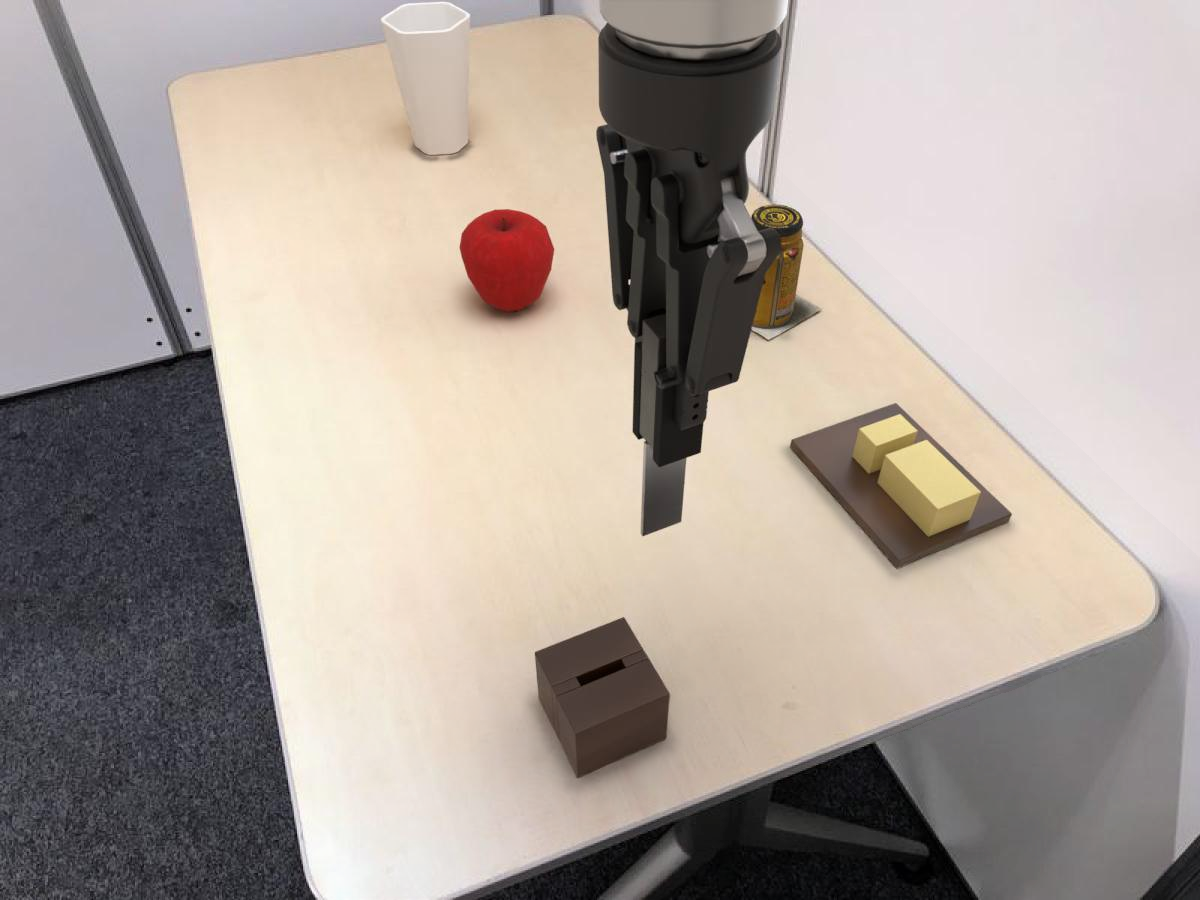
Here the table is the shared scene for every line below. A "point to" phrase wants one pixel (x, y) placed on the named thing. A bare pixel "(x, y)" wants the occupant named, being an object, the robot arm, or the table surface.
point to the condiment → (781, 274)
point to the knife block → (602, 696)
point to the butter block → (928, 487)
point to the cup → (432, 72)
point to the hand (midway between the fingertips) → (666, 441)
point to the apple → (507, 258)
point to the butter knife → (657, 482)
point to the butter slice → (882, 441)
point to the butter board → (870, 502)
